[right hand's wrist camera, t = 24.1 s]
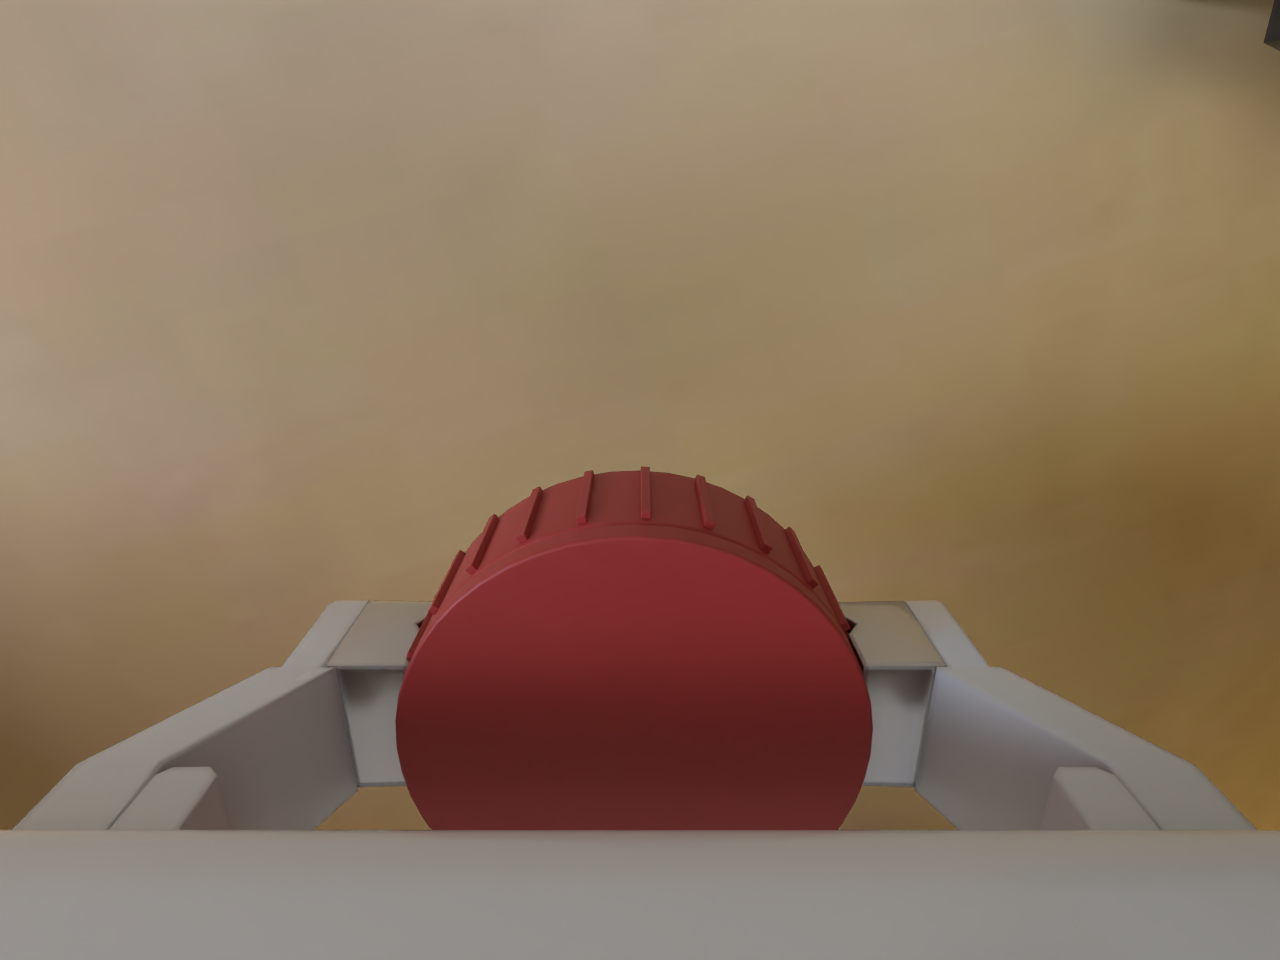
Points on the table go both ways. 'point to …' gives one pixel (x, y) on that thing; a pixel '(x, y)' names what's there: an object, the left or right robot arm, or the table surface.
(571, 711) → the lid
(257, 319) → the table surface
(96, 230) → the table surface
